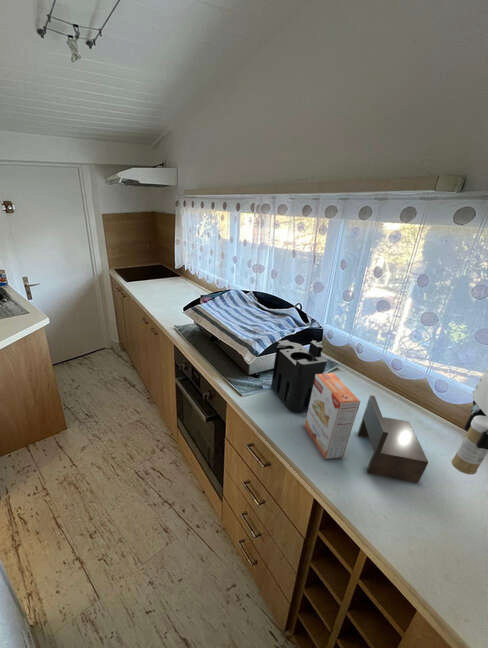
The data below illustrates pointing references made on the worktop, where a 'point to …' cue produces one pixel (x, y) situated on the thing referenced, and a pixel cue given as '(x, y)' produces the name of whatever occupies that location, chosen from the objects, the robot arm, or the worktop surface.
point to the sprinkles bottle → (471, 447)
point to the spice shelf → (392, 446)
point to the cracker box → (331, 415)
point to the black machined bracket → (296, 373)
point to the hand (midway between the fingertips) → (479, 438)
